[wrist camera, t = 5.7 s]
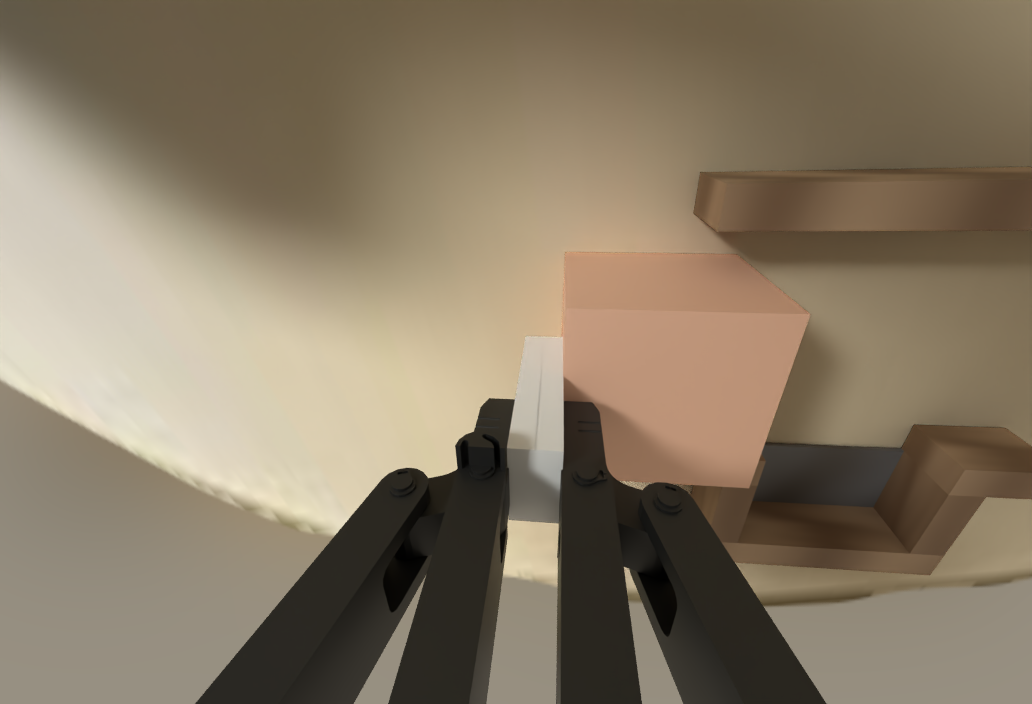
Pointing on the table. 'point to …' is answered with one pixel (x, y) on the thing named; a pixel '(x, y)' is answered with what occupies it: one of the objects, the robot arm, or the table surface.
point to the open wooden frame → (867, 470)
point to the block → (678, 361)
